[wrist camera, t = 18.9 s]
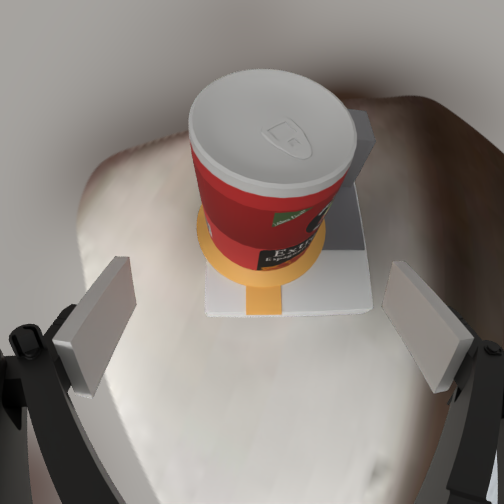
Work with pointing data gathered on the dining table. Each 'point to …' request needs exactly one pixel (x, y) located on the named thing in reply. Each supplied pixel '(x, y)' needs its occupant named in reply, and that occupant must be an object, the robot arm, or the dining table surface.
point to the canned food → (268, 163)
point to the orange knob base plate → (302, 261)
